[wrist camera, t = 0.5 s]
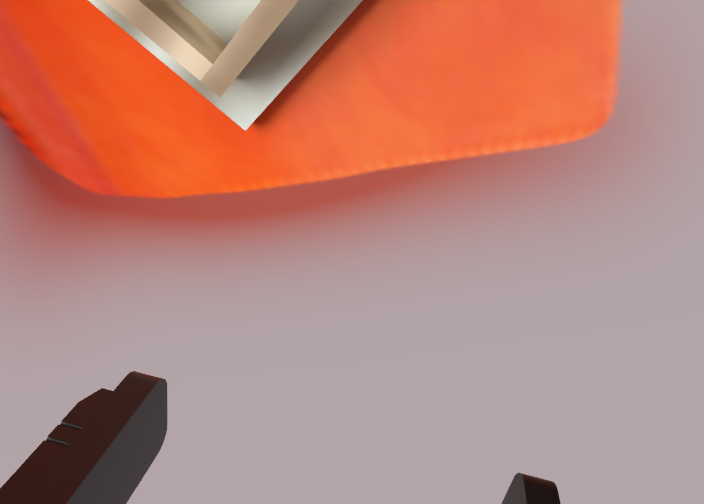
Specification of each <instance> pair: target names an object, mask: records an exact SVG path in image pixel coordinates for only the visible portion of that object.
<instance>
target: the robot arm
mask: <svg viewBox="0 0 704 504" xmlns="http://www.w3.org/2000/svg"><path fill="white" fill-rule="evenodd" d="M166 431H167V382H166V380H165V379H162V378H158V377H154V376H150V375H146V374H142V373H138V372H135V371H133V372H131V373H129V374H128V375H127V376H126V377H125V378H124V379H123V381H122V382H121V383H120V384H119V385H118V386H117V388H116V389H115V390H114V391H110V390H107V389H103V388H102V389H100V390H98V391H97V392H95V393H93V394H92V395H90V396H88V397H87V398H85V399H83V400H82V401H80V402H78V403H77V405H76V406H75V407H74V408H73V409H72V410H71V411H70V412H69V413H68V415H67V416H66V417H65V418H64V419H63V420H62V422H61V424H60V425H58V426H57V427H56V428H55V429H54V430H53V431H52V432H51V433H50V434H49V435H48V438H47V440H46V441H43V442H42V443H41V444H40V445H39V447H38V448H37V449H36V450H35V451H34V452H33V453H32V454H31V455H30V456H29V458H28V459H27V460H26V461H25V462H24V463H23V464H22V465H21V467H19V469H18V470H17V471H16V472H15V473H14V474H13V475H12V476H11V477H10V479H9V480H8V481H7V482H6V483H5V484H4V485H3V486H2V487H1V488H0V504H126V503H127V501H128V500H129V498H130V497H131V495H132V493H133V492H134V490H135V489H136V487H137V486H138V484H139V483H140V481H141V479H142V478H143V476H144V475H145V473H146V472H147V470H148V468H149V467H150V465H151V464H152V462H153V461H154V459H155V457H156V456H157V454H158V452H159V451H160V449H161V446H162V444H163V442H164V439H165V435H166ZM502 504H560V499H559V495H558V490H557V487H556V485H555V483H554V482H552V481H548V480H544V479H540V478H537V477H533V476H529V475H525V474H521V473H517V474H516V475H515V477H514V479H513V481H512V483H511V485H510V487H509V489H508V491H507V493H506V495H505V498H504V500H503V502H502Z"/></svg>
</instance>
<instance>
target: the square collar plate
mask: <svg viewBox="0 0 704 504" xmlns="http://www.w3.org/2000/svg"><path fill="white" fill-rule="evenodd" d="M88 1H90V2H91V3H92V4H93V5H94V6H96V7H97V8H98V9H99V10H100V11H102V12H103V13H104V14H105V15H106V16H108V17H109V18H110V19H111V20H113V21H114V22H115V23H116V24H117V25H119V26H120V27H121V28H122V29H123V30H125V31H126V32H127V33H128V34H129V35H131V36H132V37H133V38H134V39H135V40H137V41H138V42H139V43H140V44H141V45H143V46H144V47H145V48H146V49H147V50H149V51H150V52H151V53H152V54H153V55H155V56H156V57H157V58H158V59H160V60H161V61H162V62H163V63H164V64H166V65H167V66H168V67H169V68H170V69H172V70H173V71H174V72H175V73H176V74H178V75H179V76H180V77H181V78H182V79H184V80H185V81H186V82H187V83H188V84H190V85H191V86H192V87H193V88H194V89H196V90H197V91H198V92H199V93H200V94H202V95H203V96H204V97H205V98H206V99H208V100H209V101H210V102H211V103H213V104H214V105H215V106H216V107H217V108H219V109H220V110H221V111H222V112H223V113H225V114H226V115H227V116H228V117H229V118H231V119H232V120H233V121H234V122H235V123H237V124H238V125H239V126H240V127H241V128H243V129H244V130H245V131H246V130H247V128H248V127H249V126H250V125H251V124H252V123H253V122H254V121H255V120H256V118H257V117H258V116H259V115H260V114H261V113H262V112H263V111H264V110H265V108H266V107H267V106H268V105H269V104H270V103H271V102H272V101H273V100H274V98H275V97H276V96H277V95H278V94H279V93H280V92H281V91H282V90H283V88H284V87H285V86H286V85H287V84H288V83H289V82H290V81H291V80H292V78H293V77H294V76H295V75H296V74H297V73H298V72H299V71H300V70H301V68H302V67H303V66H304V65H305V64H306V63H307V62H308V61H309V60H310V58H311V57H312V56H313V55H314V54H315V53H316V52H317V51H318V50H319V48H320V47H321V46H322V45H323V44H324V43H325V42H326V41H327V40H328V38H329V37H330V36H331V35H332V34H333V33H334V32H335V31H336V30H337V28H338V27H339V26H340V25H341V24H342V23H343V22H344V21H345V20H346V18H347V17H348V16H349V15H350V14H351V13H352V12H353V11H354V10H355V8H356V7H357V6H358V5H359V4H360V3H361V2H362V1H363V0H88Z"/></svg>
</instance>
